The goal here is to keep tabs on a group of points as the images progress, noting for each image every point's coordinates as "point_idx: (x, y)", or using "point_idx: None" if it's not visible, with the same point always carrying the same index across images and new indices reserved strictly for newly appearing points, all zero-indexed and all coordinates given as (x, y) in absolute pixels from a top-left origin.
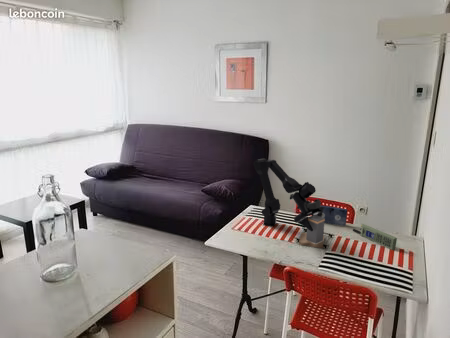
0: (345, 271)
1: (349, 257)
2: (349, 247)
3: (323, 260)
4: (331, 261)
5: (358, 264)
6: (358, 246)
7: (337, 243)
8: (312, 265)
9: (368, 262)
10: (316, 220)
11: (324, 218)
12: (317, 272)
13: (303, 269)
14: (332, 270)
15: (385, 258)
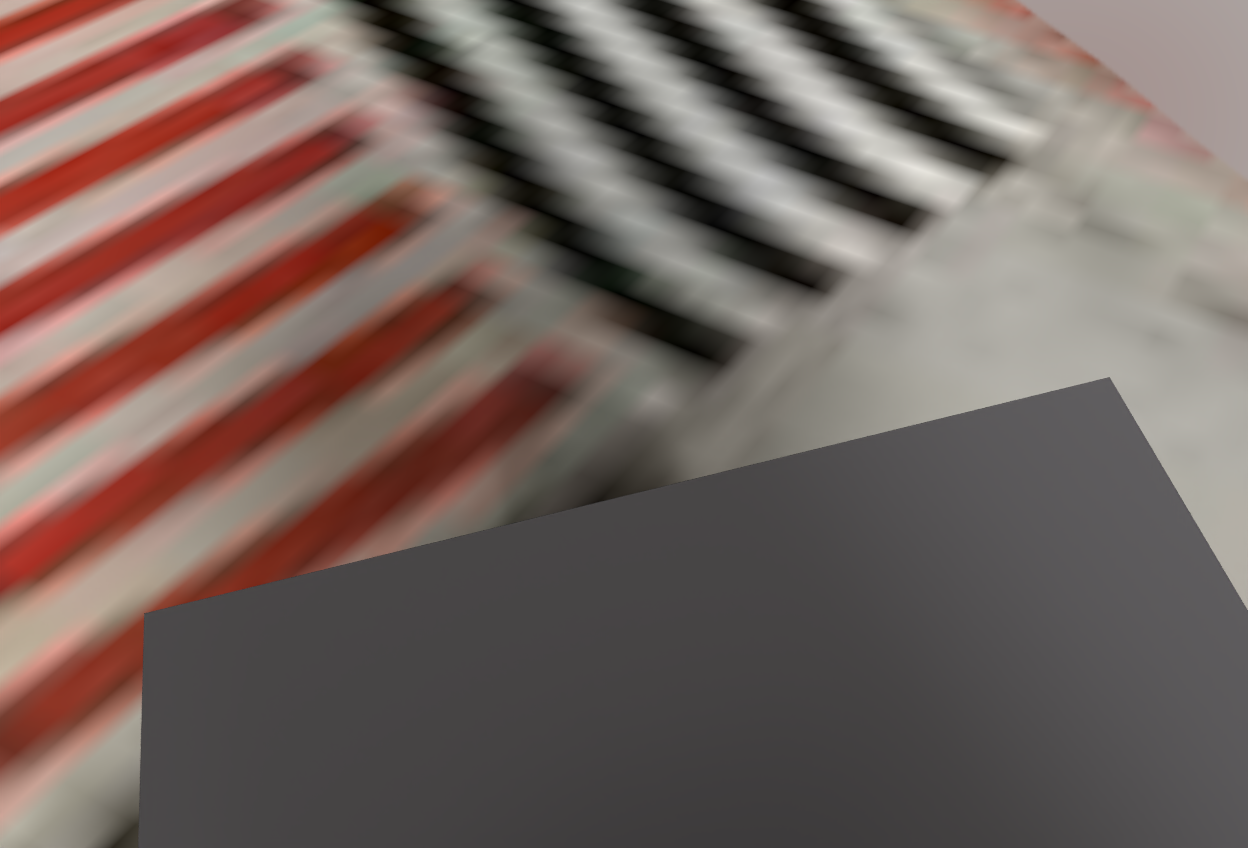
0: (775, 2)
1: (497, 164)
2: (241, 352)
3: (874, 231)
4: (787, 179)
5: (534, 36)
6: (93, 322)
7: (280, 537)
8: (1083, 198)
9: (395, 26)
10: (1164, 480)
11: (208, 602)
12: (1091, 82)
13: (1238, 175)
14: (900, 55)
15: (143, 14)
